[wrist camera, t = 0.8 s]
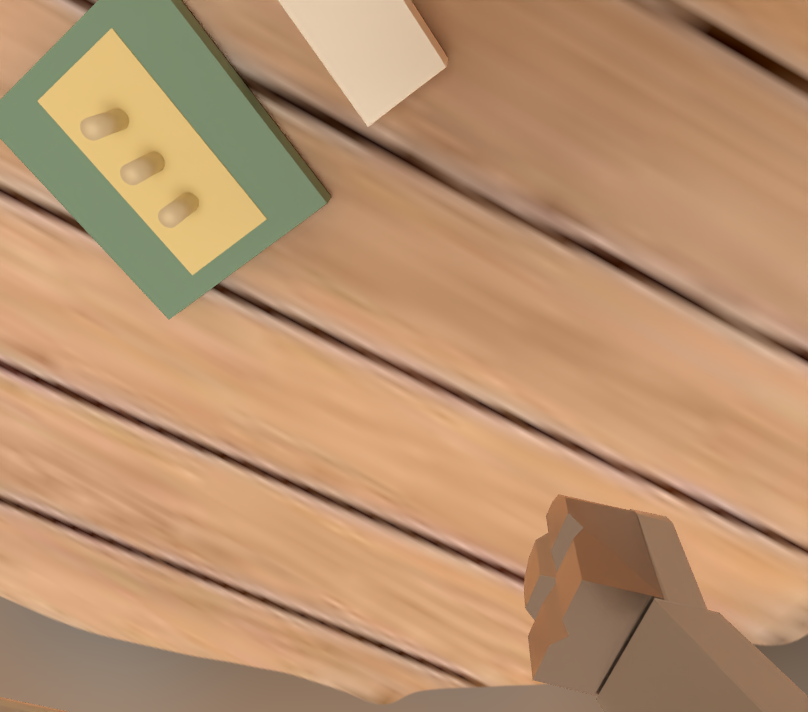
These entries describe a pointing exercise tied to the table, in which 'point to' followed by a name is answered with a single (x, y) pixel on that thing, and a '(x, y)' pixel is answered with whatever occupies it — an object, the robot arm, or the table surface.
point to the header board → (158, 148)
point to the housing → (370, 48)
